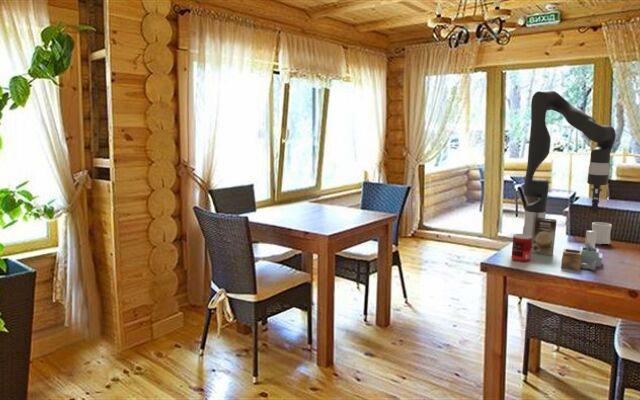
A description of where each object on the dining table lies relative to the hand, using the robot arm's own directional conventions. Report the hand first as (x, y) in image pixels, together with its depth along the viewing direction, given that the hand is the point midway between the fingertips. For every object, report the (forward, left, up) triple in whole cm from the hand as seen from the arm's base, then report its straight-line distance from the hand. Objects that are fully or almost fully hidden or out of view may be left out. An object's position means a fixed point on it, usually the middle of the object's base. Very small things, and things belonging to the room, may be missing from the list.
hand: (594, 210), depth 211 cm
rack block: (0, 0, -23) cm, 23 cm away
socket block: (-6, -10, -23) cm, 26 cm away
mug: (+3, +46, -23) cm, 51 cm away
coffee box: (-19, +7, -23) cm, 31 cm away
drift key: (-3, -10, -23) cm, 26 cm away
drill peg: (0, 0, -19) cm, 19 cm away
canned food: (-26, -11, -23) cm, 37 cm away
